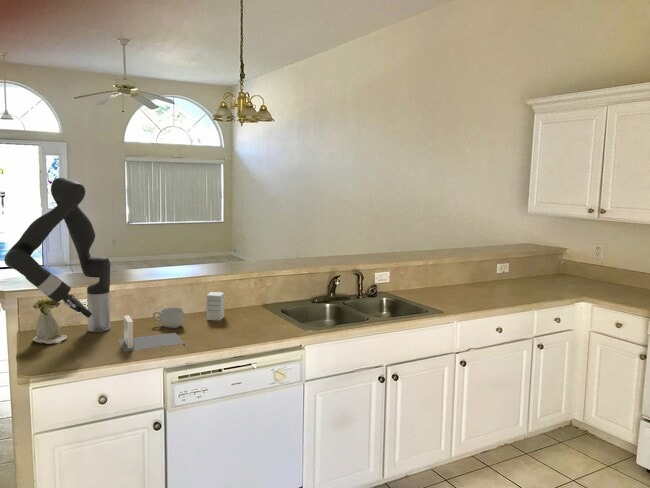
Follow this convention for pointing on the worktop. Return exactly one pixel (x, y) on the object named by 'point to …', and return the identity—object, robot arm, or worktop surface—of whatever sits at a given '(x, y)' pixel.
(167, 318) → the teacup
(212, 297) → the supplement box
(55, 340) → the potted leafy plant
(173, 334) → the mat
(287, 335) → the worktop surface
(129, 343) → the tile
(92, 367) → the worktop surface
